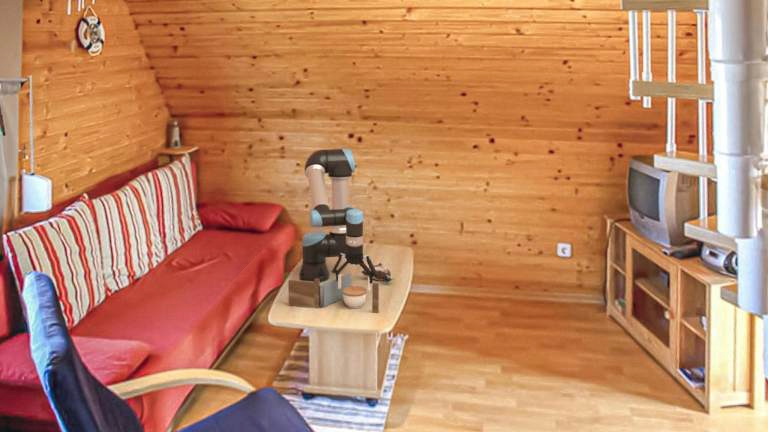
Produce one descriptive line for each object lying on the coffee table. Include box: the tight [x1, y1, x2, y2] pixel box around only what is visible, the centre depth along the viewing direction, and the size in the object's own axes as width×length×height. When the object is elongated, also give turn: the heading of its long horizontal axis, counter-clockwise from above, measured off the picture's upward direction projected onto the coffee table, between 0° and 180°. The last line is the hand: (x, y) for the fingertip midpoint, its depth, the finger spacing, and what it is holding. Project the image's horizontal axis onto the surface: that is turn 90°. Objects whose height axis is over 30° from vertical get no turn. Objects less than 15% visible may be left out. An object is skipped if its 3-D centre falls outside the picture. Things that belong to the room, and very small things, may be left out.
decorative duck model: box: [360, 262, 395, 283], centre depth 352 cm, size 15×8×15 cm
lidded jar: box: [342, 285, 367, 310], centre depth 320 cm, size 11×11×9 cm
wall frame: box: [287, 278, 380, 314], centre depth 316 cm, size 2×41×14 cm, turn 79°
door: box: [319, 273, 352, 309], centre depth 326 cm, size 2×22×10 cm, turn 145°
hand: (354, 288), depth 320 cm, fingers open, 13 cm apart
